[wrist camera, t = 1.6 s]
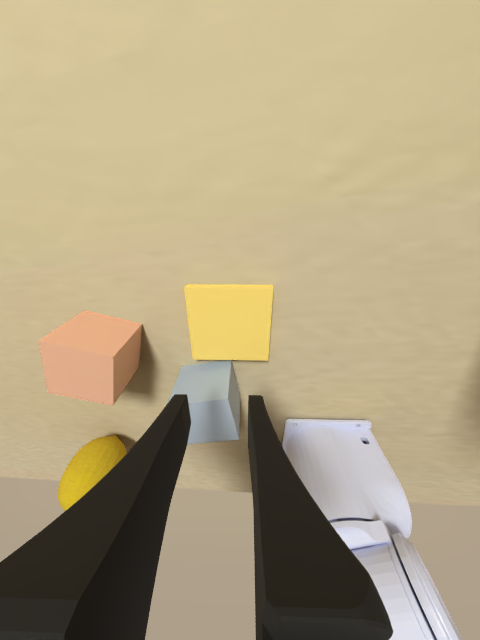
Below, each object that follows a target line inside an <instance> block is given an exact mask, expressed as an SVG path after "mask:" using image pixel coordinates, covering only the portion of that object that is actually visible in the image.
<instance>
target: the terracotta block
mask: <svg viewBox="0 0 480 640" xmlns="http://www.w3.org/2000/svg"><path fill="white" fill-rule="evenodd" d="M141 335H142V324H141V323H136V322H132V321H128V320H124V319H119V318H115V317H111V316H107V315H102V314H98V313H94V312H90V311H83V312H82V313H80V314H79V315H77V316H75V317H74V318H72V319H71V320H69V321H68V322H66V323H65V324H63V325H62V326H60V327H59V328H57V329H55V330H54V331H52V332H51V333H49V334H48V335H46V336H45V337H43V338H42V339H40V340H38V342H39V348H40V353H41V359H42V364H43V369H44V375H45V380H46V385H47V391H48V393H52V394H57V395H62V396H67V397H72V398H77V399H83V400H88V401H93V402H98V403H103V404H108V405H114V404H115V402H116V401H117V399H118V398H119V396H120V395H121V393H122V392H123V390H124V389H125V387H126V386H127V384H128V382H129V381H130V379H131V378H132V376H133V375H134V373H135V372H136V370H137V369H138V367H139V363H140V349H141Z"/></svg>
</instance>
